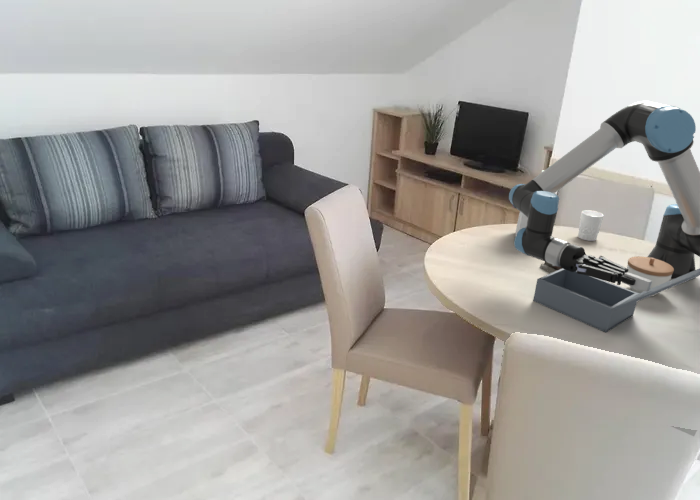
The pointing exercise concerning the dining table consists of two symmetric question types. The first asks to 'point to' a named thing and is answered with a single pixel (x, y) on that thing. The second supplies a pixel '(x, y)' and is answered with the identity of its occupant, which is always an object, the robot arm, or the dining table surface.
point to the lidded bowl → (650, 271)
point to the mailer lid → (661, 288)
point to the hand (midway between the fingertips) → (649, 286)
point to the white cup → (590, 225)
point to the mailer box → (585, 298)
